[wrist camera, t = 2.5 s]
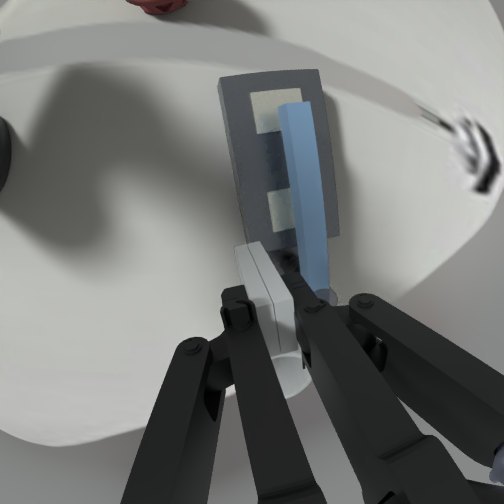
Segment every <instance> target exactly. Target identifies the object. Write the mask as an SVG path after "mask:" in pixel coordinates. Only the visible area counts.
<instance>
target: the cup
mask: <svg viewBox="0 0 504 504" xmlns="http://www.w3.org/2000/svg"><path fill="white" fill-rule="evenodd" d="M280 352H281V351H280ZM271 360H272V363H273V365H274V368H275V371H276V374H277V377H278V380H279V382H280V385H281V388H282V391H283V394H284V397H285V399H287V398H289V397H292V396H294V395H296V394H297V393H299V392H300V391H302V390H303V389H304V388H306V387H307V386H308V385H309V383H310V381H311V380H312V378H311V376H310V374H309V372H308V369H307V367H306V365H305V369H303V366H302V354H301V347H300V345H299V343H298V350H296V351H292V352H289V353H285V354H281V355H277V356H274V357H271Z"/></svg>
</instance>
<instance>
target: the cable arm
mask: <svg viewBox="0 0 504 504" xmlns="http://www.w3.org/2000/svg"><path fill="white" fill-rule="evenodd" d="M277 108H278V114H279V120H280V126H281V131H282V137H283V144H284V150H285V156H286V163H287V170H288V176H289V183H290V190H291V198H292V205H293V213H294V220H295V229H296V237H297V245H298V254H299V263H300V273H301V275H302V277H303V278H304V279H305V281H306V282H307V284H308V285H309V286H310V288H311V289H312V290H313V292H314V293H315V295H316V296H317V297H318V298H321V299H324V300H326V301H327V302H329V304H330V305H331V306H337V302H338V298H337V295H336V293H335V292H334V291H333V290H332V289H331V287H330V286H329V266H328V250H327V235H326V223H325V212H324V201H323V192H322V182H321V174H320V166H319V158H318V151H317V143H316V136H315V130H314V123H313V117H312V111H311V105H310V101H307V102H294V103H285V104H283V105H281V106H279V107H277Z"/></svg>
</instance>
